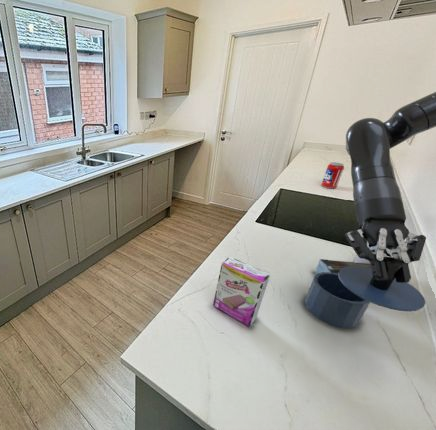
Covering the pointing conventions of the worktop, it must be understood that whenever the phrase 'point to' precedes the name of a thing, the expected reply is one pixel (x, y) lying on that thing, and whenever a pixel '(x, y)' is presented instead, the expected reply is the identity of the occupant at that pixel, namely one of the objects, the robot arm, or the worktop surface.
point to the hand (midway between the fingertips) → (392, 280)
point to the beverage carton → (336, 266)
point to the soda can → (332, 175)
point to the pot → (334, 301)
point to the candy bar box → (240, 290)
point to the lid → (382, 287)
